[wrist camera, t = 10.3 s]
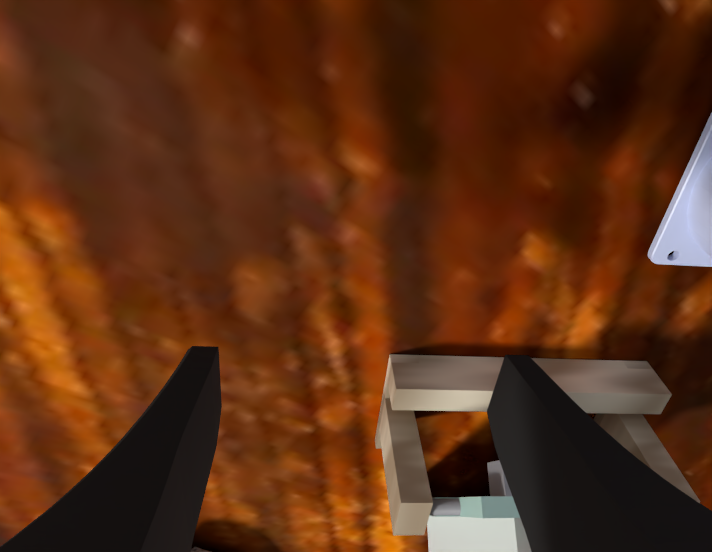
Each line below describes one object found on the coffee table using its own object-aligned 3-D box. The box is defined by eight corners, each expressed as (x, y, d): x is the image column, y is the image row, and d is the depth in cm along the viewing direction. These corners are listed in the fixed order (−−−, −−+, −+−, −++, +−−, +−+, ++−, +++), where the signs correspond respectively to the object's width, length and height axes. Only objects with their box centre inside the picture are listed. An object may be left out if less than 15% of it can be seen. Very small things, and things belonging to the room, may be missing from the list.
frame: (647, 361, 29) (726, 466, 23) (605, 441, 32) (665, 549, 27) (389, 354, 27) (409, 465, 22) (374, 439, 31) (388, 553, 25)
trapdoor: (688, 460, 23) (701, 516, 22) (548, 475, 36) (553, 512, 35) (447, 459, 22) (451, 518, 21) (389, 475, 34) (390, 513, 34)
